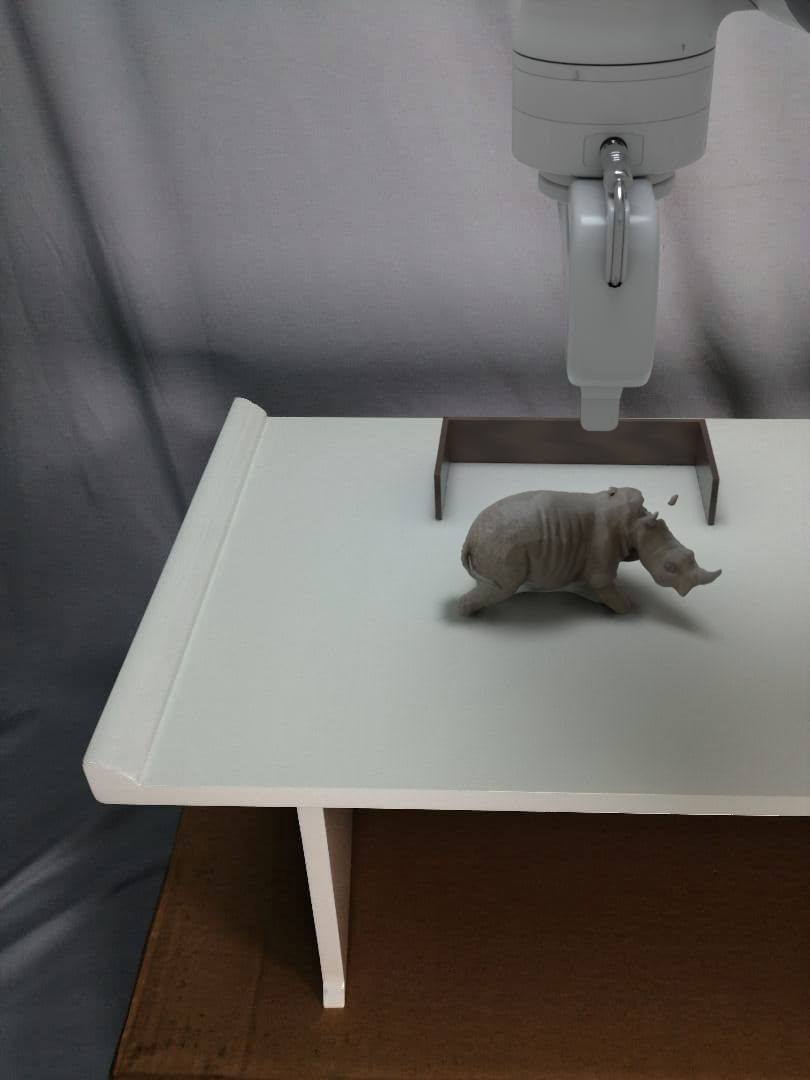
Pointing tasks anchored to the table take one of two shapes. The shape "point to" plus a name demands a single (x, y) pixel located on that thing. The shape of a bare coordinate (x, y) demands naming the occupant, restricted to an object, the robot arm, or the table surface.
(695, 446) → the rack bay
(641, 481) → the table surface
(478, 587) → the rhinoceros figurine
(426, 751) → the table surface
